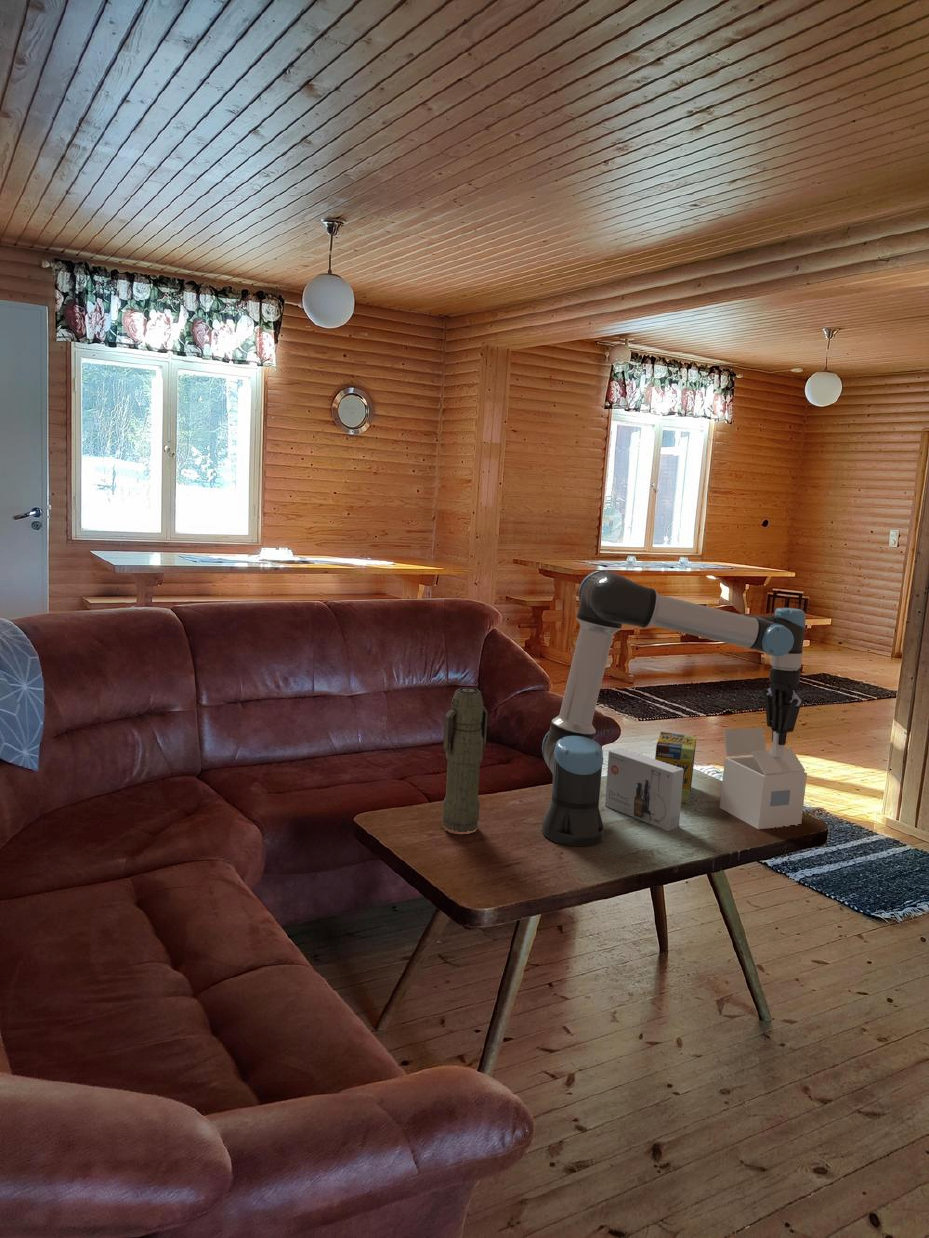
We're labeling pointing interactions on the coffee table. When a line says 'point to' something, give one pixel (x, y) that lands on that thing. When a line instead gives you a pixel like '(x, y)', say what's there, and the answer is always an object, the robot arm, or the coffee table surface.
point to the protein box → (678, 756)
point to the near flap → (777, 762)
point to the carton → (762, 794)
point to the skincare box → (644, 788)
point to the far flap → (743, 741)
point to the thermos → (464, 759)
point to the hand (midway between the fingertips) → (777, 755)
